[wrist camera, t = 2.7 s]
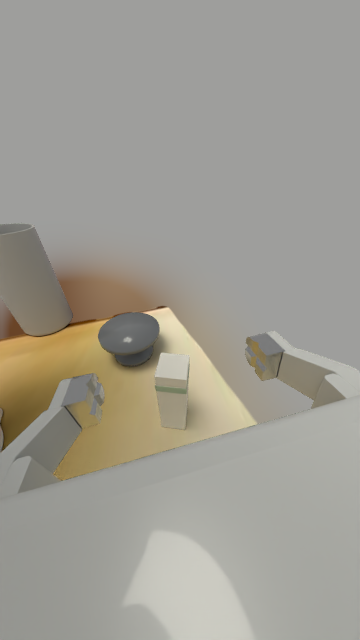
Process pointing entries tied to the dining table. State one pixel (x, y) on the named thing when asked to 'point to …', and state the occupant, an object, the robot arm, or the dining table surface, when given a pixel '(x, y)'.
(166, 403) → the column
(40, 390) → the dining table surface
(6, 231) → the cylinder vase
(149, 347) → the pedestal
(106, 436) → the dining table surface
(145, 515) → the robot arm
